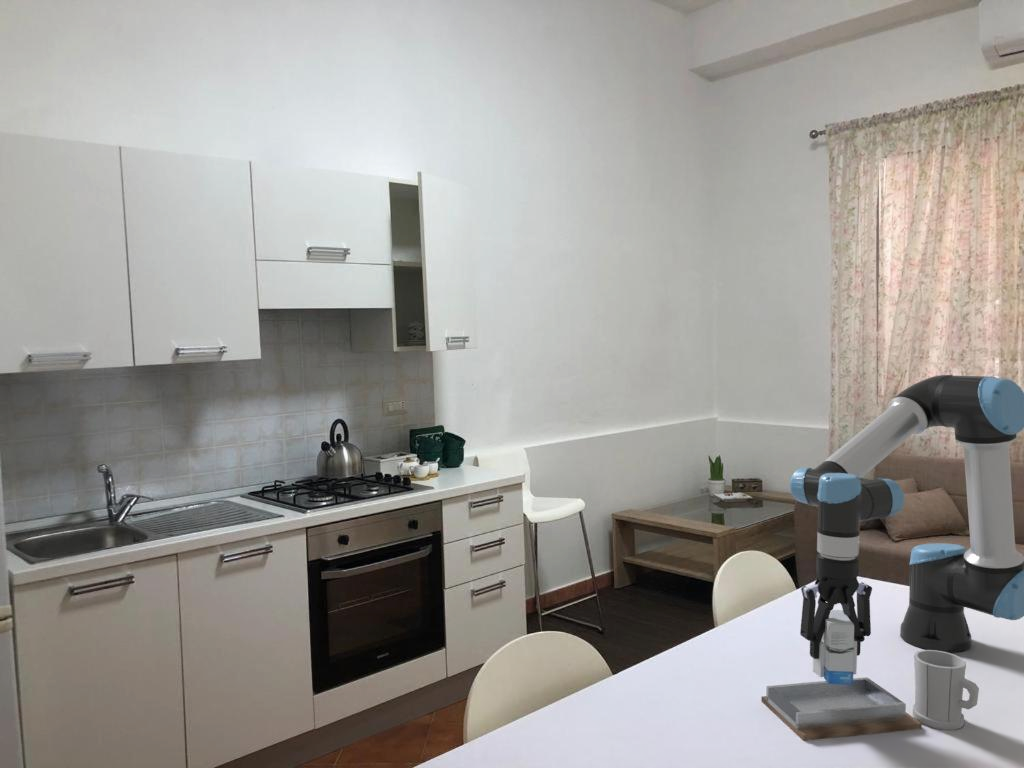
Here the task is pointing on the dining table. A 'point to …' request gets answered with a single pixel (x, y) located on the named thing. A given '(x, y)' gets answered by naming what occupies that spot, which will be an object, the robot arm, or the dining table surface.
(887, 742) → the dining table surface
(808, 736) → the panel
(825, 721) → the metal serving tray
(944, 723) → the cup
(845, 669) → the ink box
